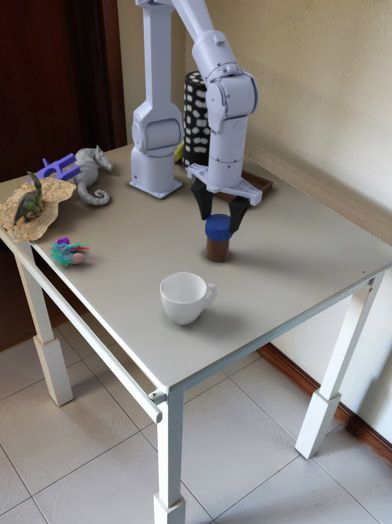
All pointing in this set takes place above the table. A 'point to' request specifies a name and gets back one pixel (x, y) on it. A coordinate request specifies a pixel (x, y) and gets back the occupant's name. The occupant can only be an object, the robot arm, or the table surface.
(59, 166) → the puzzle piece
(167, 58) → the robot arm
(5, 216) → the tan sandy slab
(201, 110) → the spotted tube
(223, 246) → the jar
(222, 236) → the jar lid
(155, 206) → the table surface
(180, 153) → the lemon
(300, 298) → the table surface
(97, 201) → the seahorse
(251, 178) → the tray
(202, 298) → the cup
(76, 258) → the anatomy model
